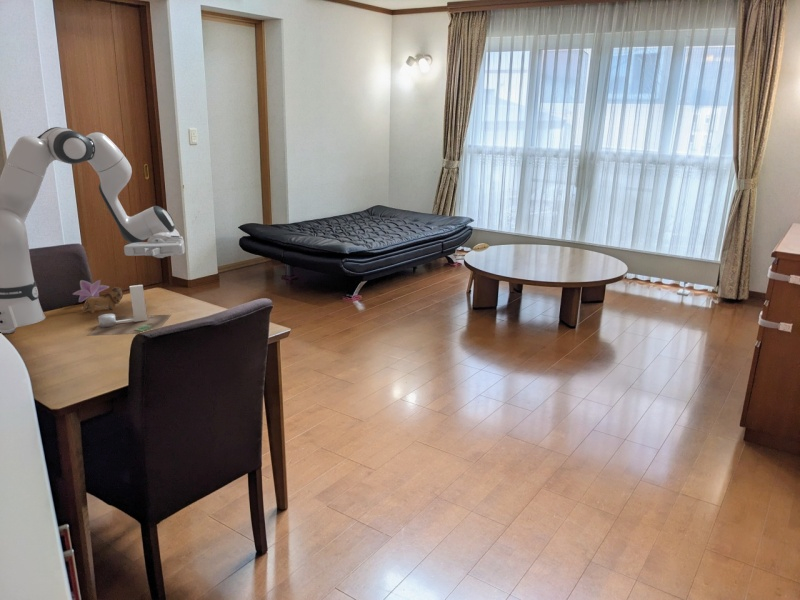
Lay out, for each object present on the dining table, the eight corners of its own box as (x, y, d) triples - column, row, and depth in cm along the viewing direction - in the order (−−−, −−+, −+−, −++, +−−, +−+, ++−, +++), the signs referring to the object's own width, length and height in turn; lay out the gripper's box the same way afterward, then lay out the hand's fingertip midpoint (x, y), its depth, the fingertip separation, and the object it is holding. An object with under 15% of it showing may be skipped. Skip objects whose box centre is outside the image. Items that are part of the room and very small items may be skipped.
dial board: (87, 339, 188) (86, 334, 187) (109, 320, 206) (108, 316, 205) (156, 337, 190) (156, 332, 189) (172, 318, 208) (171, 313, 207)
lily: (116, 301, 232) (107, 278, 233) (107, 297, 221) (97, 274, 221) (86, 313, 230) (76, 290, 230) (74, 310, 218) (64, 286, 219)
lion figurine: (122, 308, 220) (119, 284, 217) (127, 311, 216) (124, 287, 214) (79, 316, 211) (75, 291, 208) (83, 320, 207) (79, 295, 204)
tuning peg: (99, 328, 193) (93, 292, 190) (99, 323, 198) (94, 288, 194) (147, 321, 199) (143, 286, 196) (146, 317, 204) (142, 283, 200)
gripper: (129, 237, 219) (116, 245, 206) (187, 236, 221) (177, 243, 208) (132, 254, 221) (119, 263, 208) (189, 253, 223) (179, 261, 210)
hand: (148, 253), depth 208 cm, fingers closed
